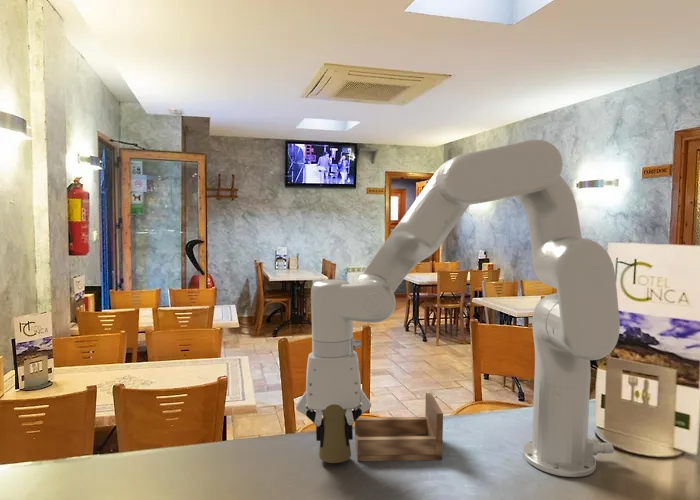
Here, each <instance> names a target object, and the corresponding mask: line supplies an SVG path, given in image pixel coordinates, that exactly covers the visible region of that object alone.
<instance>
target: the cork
mask: <svg viewBox="0 0 700 500" xmlns="http://www.w3.org/2000/svg"><path fill="white" fill-rule="evenodd" d="M322 413H323V414H322V418H323V426H324V440H323V447H320V446H319V451H318V452H319V453H318V458H319V459H320V460H321V461H323V462H325V463H331V464H338V463H342V462H343V463H344V462H346V461H347V460H349V459H350V458H351V456H352V451H351V450H352V449H351V445H350V444H351V443H350V442H349V446H347V445H346V437H345V425H346V409H343V408H342V407H341V406H339V405H336V404H333V405H330V406H328V407H326V409H325V410H322Z"/></svg>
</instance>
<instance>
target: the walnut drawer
mask: <svg viewBox="0 0 700 500" xmlns="http://www.w3.org/2000/svg"><path fill="white" fill-rule="evenodd" d="M424 412H425V413H424V415H425V416H400V417H399V416H398V417H397V416H395V417H394V416H391V417H390V416H384V417H383V416H382V417H379V416H378V417H373V416H372V417H358V418H357V420H356V421H355V422H354V441H355V452H356V461H357V462H391V461H393V462H394V461H396V462H397V461H403V462H404V461H405V462H406V461H442V460H443V442H444V441H443V440H444V439H443V435H444V434H443V433H444V411H442V409H441V406H439V404H438V402H437V400H436V399H435V396H434V395H433V393H432V392H429V393H428V392H426V393H425V411H424Z"/></svg>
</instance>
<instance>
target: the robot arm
mask: <svg viewBox="0 0 700 500" xmlns="http://www.w3.org/2000/svg"><path fill="white" fill-rule="evenodd" d="M563 163H564V162H563V157H562V154H561V152H560V150H559V149H558V148H557V146H555V145H554V144H553V143H551V142H549V141H547V140H543V139H537V138H536V139H529V140H525V141H519V142H516V143H510V144H506V145H502V146H497V147H493V148H489V149H483V150H478V151H473V152H468V153H464V154H463V153H462V154H459V155H456V156H454V157H453V158H451V159H448V160H446V161H445V162H443V163H442V164H441V165H440V166H439V167H438V168H437V170H436V171H435V172H434V173H433V175H432V176H431V178H430V179H429V180H428V182H427V183H426V185H425V186H424V188H423V189H422V190H421V192H420V193H419V194H418V195H417V197H416V199H415V200H414V201H413V203H411V206H410V207H409V208H408V210H407V211H406V212H405V214H404V215H403V217H401V219H400V221H398V224H396V226H395V227H394V228H393V230H392V232H391V233H390V234H389V236H388V237H387V239H386V240H385V241H384V243H383V244H381V247H380V248H379V249H378V250H377V252H376V253H375V254H374V256H373V257H372V259H371V260H370V261H369V262H368V264H367V265H366V267H365V268H364V270H363V271H362V273H360V275H359V277H358V278H357V280H356V281H355V282H354V283H350V282H349V281H347V280H343V279H323V280H317V281H315V282H314V283H313V284H312V285H311V289H310V304H311V305H310V306H311V307H310V308H311V309H310V310H311V312H310V314H311V350H312V351H311V352H310V353H308V357H307V365H306V380H305V391H304V393H303V394H302V396H301V397H300V399H299V401H298V402H297V404H296V408H295V409H296V411H297V412H299V413H301V414H302V415H304V416H306V417H307V418H308V419H309V420H310V421H311V422H312V423H313V424H314V426H315V432H316V434H315V437H316V439H315V440H316V441H317V442H319V448H320V447H323V440H324V426H323V415H322V414H323V413H322V410H325V409H326V407H328V406H330V405H333V404H336V405H339V406H341V407H342V408H343V409H346V414H345V417H346V425H345V437H346V445H347V446H349V443H350V441H351V440H354V438H353V436H354V435H353V425H355V421H356V420H357V418H360V417H361V416H362V414H363V413H366V411H369V409H371V408H372V403H371V401H370V399H369V398H368V397H367V395H366V393H365V392H364V390H363V389H362V386H361V385H362V383H361V381H362V380H361V371H360V363H359V362H360V361H359V356H358V353H357V351H355V350H356V349H358V348H359V349H360V348H361V347H362V341H361V340H360V339H359V340H357V339H355V337H354V332H353V331H354V330H353V324H354V323H353V322H362V323H368V324H369V323H371V324H376V323H382V322H384V321H386V320H388V319H389V318H390V317H391V316H392V314H394V311H395V309H396V306H397V305H396V303H397V302H396V296H395V294H394V293H395V292H396V290H398V287H399V286H400V285H401V284H402V282H403V281H404V279H405V278H406V277H407V275H408V274H409V273H410V272H411V271H412V270H413V269H414V268H415V267H416V266H417V265H418V264H419V263H421V262H422V261H424V260H425V259H427V258H429V257H431V256H432V255H434V253H435V252H436V251H437V250H438V249H439V248H440V247H441V246H442V245H443V243H444V242H445V240H446V239H447V237H448V236H449V234H450V232H452V230H453V229H454V227H455V226H456V225H457V223H458V221H459V220H460V219H461V217H463V215H464V214H465V212H466V211H467V209H468V208H469V207H470V206H471V205H477V204H483V203H487V202H495V201H499V200H505V199H509V198H513V197H515V198H516V199H518V201H519V202H520V204H521V205H522V207H523V209H524V211H525V214H526V218H527V223H528V229H529V240H530V249H531V257H532V258H531V260H532V267H533V271H534V274H535V276H536V278H537V279H538V280H539V281H540V282H541V283H543V284H544V285H546V286H549V287H551V288H554V289H556V292H557V293H555V292H554V293H551V294H548V295H546V296H544V297H543V298H541V299H540V300H539V301H538V303H537V304H536V305H535V307H534V310H533V311H532V320H531V321H532V322H531V323H532V325H531V326H532V336H533V344H534V346H533V347H534V376H533V378H534V379H533V382H534V383H533V409H532V432H531V433H532V435H531V436H532V437H531V441H528V442H527V443H525V444H524V446H523V448H522V449H523V450H522V451H523V452H522V454H523V457H524V459H525V461H527V462H528V463H529V464H530V465H531V466H533V467H534V468H536V469H538V470H541V471H542V472H544V473H548V474H551V475H555V476H560V477H567V478H582V477H586V476H589V475H591V474H593V473H594V472H595V471H596V469H597V462H596V461H597V460H596V458H595V457H594V456H597V455H598V454H603V455H604V454H607V455H608V454H610V455H612V454H614V453H615V452H614V451H615V448H614V445H613V444H612V443H611V442H600V440H599V438H597V437H590V438H589V415H590V414H589V413H590V394H591V393H590V390H591V375H592V374H591V361H595V360H596V361H597V360H601V359H603V358H605V357H607V356H608V355H609V354H610V353H611V352H612V351H613V350H614V349H615V348H616V346H617V344H618V340H619V338H620V337H619V336H620V323H621V322H620V313H619V312H620V310H619V301H618V289H617V280H616V270H615V266H614V264H613V261H612V258H611V257H610V254H609V252H607V250H606V249H605V248H604V247H603V246H602V245H601V244H600V243H598V242H597V241H594V240H592V239H589V238H584V237H582V232H581V227H580V226H581V225H580V218H579V213H578V212H579V211H578V206H577V203H576V198H575V195H574V194H573V191H572V189H571V188H570V186H569V185H568V183H567V182H566V180H565V179H564V178H563V177H562V176H561V174H562V171H563V167H564V166H563Z"/></svg>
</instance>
